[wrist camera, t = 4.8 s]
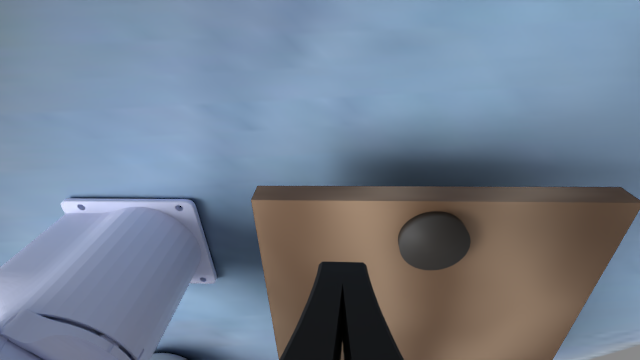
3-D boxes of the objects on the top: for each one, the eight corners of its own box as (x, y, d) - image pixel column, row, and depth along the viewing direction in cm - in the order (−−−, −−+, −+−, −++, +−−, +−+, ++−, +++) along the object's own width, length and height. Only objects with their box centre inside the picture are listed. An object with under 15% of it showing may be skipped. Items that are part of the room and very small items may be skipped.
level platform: (292, 394, 25) (287, 439, 23) (260, 179, 15) (243, 216, 13) (499, 405, 24) (517, 453, 22) (610, 180, 14) (670, 221, 12)
